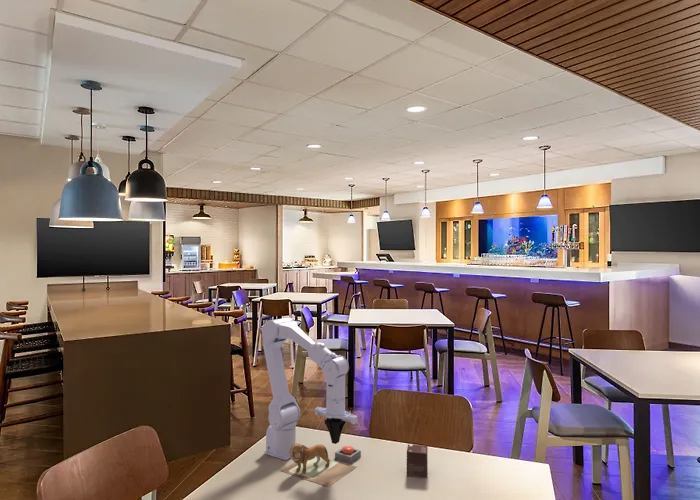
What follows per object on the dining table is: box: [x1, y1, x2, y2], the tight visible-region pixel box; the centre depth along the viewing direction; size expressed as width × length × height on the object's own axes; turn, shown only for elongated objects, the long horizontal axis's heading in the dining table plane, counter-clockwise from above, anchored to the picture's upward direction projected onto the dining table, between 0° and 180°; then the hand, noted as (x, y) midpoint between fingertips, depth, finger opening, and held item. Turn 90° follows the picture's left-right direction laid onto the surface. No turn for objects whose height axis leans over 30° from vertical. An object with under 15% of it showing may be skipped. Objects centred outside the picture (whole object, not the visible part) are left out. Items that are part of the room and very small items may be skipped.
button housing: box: [334, 448, 362, 464], centre depth 154 cm, size 6×6×2 cm
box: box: [406, 443, 429, 479], centre depth 144 cm, size 6×6×7 cm
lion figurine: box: [290, 443, 330, 474], centre depth 146 cm, size 15×5×9 cm, turn 131°
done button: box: [341, 445, 355, 455], centre depth 154 cm, size 4×4×2 cm
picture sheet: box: [279, 457, 357, 488], centre depth 146 cm, size 18×15×1 cm
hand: (335, 442), depth 145 cm, fingers closed
